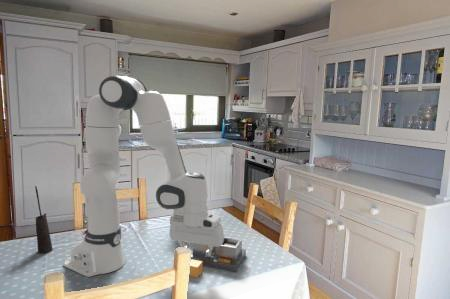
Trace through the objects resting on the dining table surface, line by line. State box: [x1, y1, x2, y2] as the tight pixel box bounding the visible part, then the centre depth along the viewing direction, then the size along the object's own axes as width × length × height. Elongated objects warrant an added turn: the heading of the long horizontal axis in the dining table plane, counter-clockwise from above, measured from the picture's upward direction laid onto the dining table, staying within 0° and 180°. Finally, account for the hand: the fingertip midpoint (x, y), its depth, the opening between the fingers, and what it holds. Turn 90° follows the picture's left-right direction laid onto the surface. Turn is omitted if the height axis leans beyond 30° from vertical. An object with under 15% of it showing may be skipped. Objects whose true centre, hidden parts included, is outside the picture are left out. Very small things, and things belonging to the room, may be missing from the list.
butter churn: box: [34, 185, 54, 254], centre depth 128 cm, size 9×10×28 cm
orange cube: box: [189, 259, 204, 278], centre depth 114 cm, size 4×4×4 cm
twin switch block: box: [190, 236, 247, 273], centre depth 124 cm, size 20×14×8 cm
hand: (196, 253), depth 113 cm, fingers open, 8 cm apart
